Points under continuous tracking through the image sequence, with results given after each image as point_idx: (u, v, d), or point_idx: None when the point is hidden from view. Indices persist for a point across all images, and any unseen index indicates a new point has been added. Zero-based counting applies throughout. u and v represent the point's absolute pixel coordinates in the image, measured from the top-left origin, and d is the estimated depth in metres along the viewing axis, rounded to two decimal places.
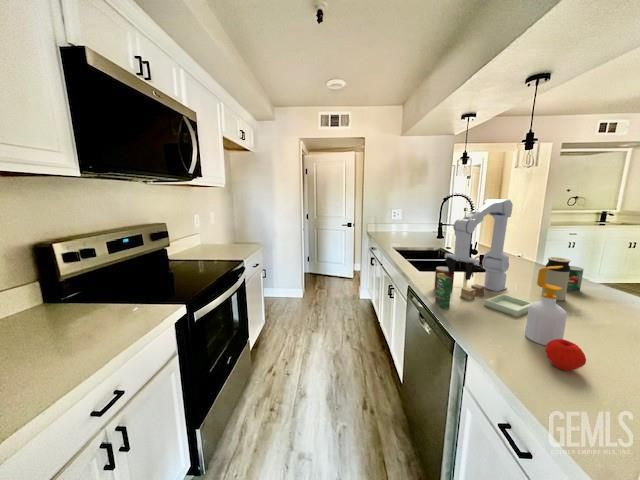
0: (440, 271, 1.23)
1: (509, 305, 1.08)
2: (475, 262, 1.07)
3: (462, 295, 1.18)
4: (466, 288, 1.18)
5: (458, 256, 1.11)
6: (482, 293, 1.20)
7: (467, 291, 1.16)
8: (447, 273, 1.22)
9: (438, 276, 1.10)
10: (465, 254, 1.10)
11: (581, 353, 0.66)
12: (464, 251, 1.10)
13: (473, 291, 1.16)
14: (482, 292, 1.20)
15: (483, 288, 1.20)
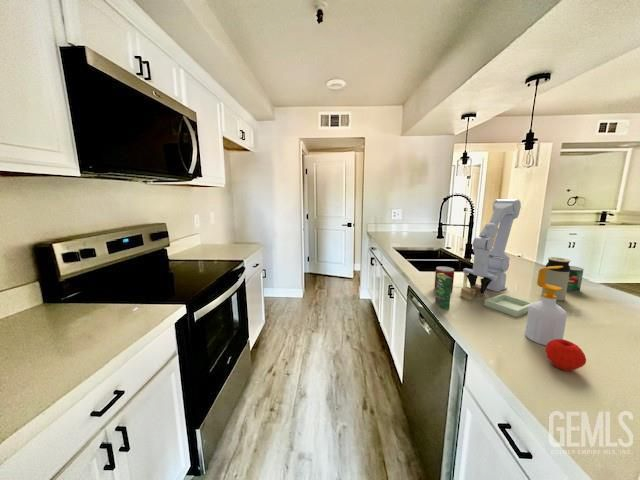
0: (440, 271, 1.23)
1: (509, 305, 1.08)
2: (494, 278, 1.14)
3: (462, 295, 1.18)
4: (466, 288, 1.18)
5: (477, 272, 1.18)
6: (482, 293, 1.20)
7: (467, 291, 1.16)
8: (447, 273, 1.22)
9: (438, 276, 1.10)
10: (484, 270, 1.17)
11: (581, 353, 0.66)
12: (483, 267, 1.17)
13: (473, 291, 1.16)
14: None
15: None
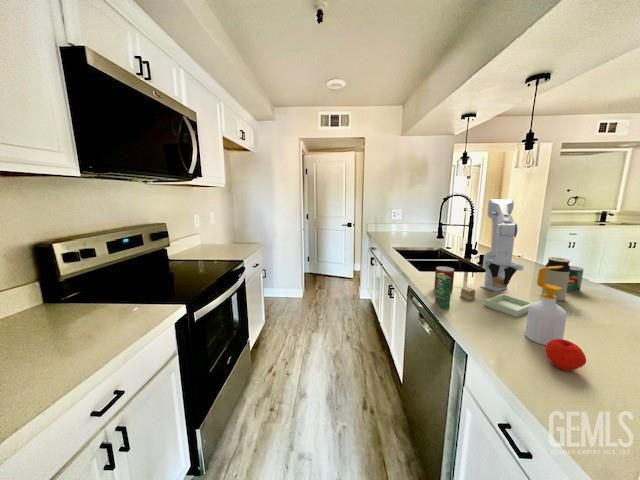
0: (440, 271, 1.23)
1: (509, 305, 1.08)
2: (519, 267, 1.04)
3: (462, 295, 1.18)
4: (466, 288, 1.18)
5: (500, 261, 1.09)
6: (505, 285, 1.11)
7: (467, 291, 1.16)
8: (447, 273, 1.22)
9: (438, 276, 1.10)
10: (508, 259, 1.08)
11: (581, 353, 0.66)
12: (507, 256, 1.07)
13: (473, 291, 1.16)
14: (504, 284, 1.10)
15: None
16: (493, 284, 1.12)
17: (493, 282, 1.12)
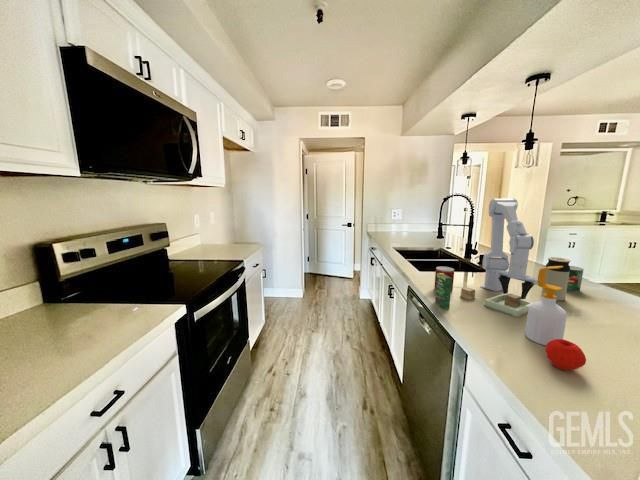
0: (440, 271, 1.23)
1: None
2: (535, 281, 1.00)
3: (462, 295, 1.18)
4: (466, 288, 1.18)
5: (514, 274, 1.05)
6: (518, 304, 1.07)
7: (467, 291, 1.16)
8: (447, 273, 1.22)
9: (438, 276, 1.10)
10: (523, 273, 1.03)
11: (581, 353, 0.66)
12: (521, 269, 1.03)
13: (473, 291, 1.16)
14: (518, 302, 1.06)
15: (519, 298, 1.06)
16: (506, 302, 1.09)
17: (506, 300, 1.08)
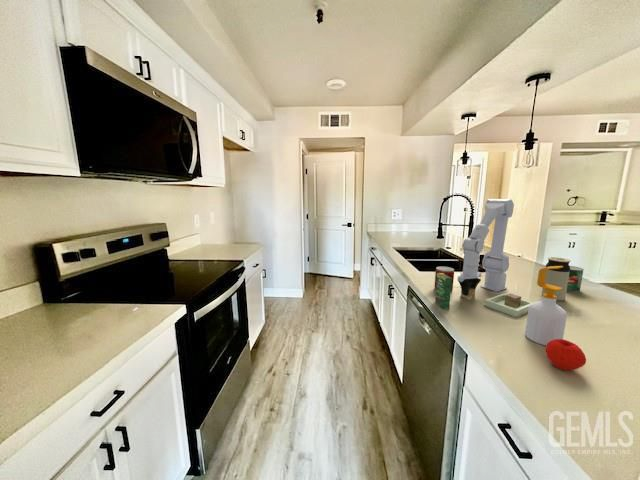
0: (440, 271, 1.23)
1: None
2: None
3: (462, 295, 1.18)
4: None
5: None
6: (518, 304, 1.07)
7: None
8: (447, 273, 1.22)
9: (438, 276, 1.10)
10: (464, 271, 1.16)
11: (581, 353, 0.66)
12: (463, 267, 1.16)
13: (473, 291, 1.16)
14: (518, 302, 1.06)
15: (519, 298, 1.06)
16: (506, 302, 1.09)
17: (506, 300, 1.08)
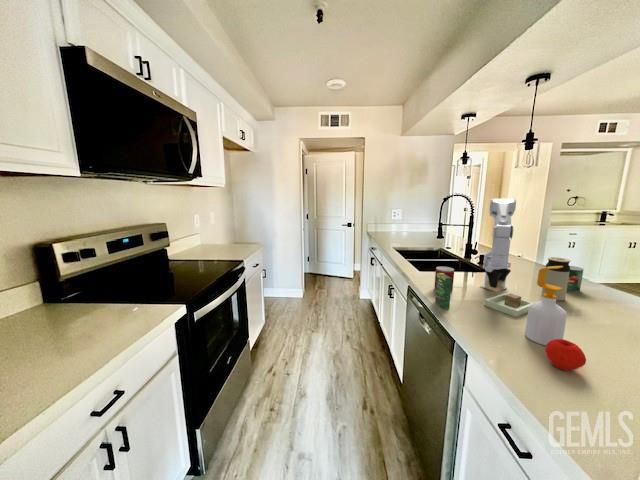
0: (440, 271, 1.23)
1: None
2: None
3: (489, 287, 1.08)
4: None
5: None
6: (518, 304, 1.07)
7: None
8: (447, 273, 1.22)
9: (438, 276, 1.10)
10: (492, 261, 1.06)
11: (581, 353, 0.66)
12: (491, 257, 1.06)
13: (501, 283, 1.06)
14: (518, 302, 1.06)
15: (519, 298, 1.06)
16: (506, 302, 1.09)
17: (506, 300, 1.08)
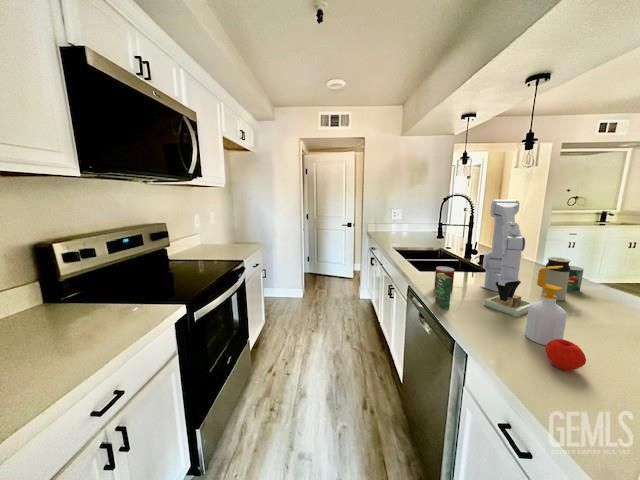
0: (440, 271, 1.23)
1: None
2: None
3: None
4: None
5: (500, 274, 1.05)
6: (518, 304, 1.07)
7: (505, 301, 1.04)
8: (447, 273, 1.22)
9: (438, 276, 1.10)
10: (503, 273, 1.03)
11: (581, 353, 0.66)
12: (502, 269, 1.03)
13: (511, 300, 1.04)
14: (518, 302, 1.06)
15: (519, 298, 1.06)
16: None
17: None
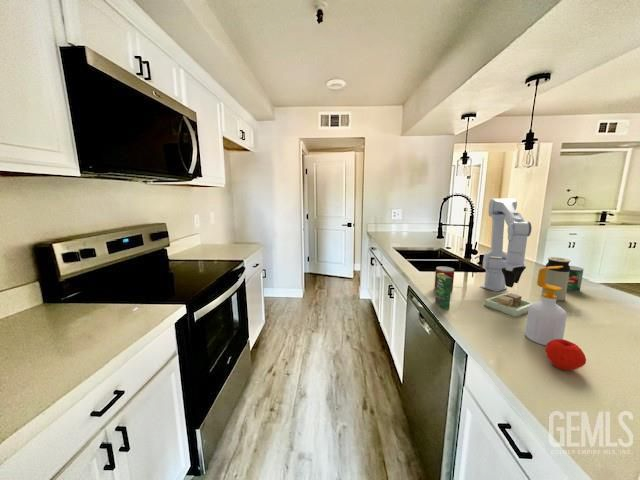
0: (440, 271, 1.23)
1: None
2: (506, 267, 1.01)
3: None
4: (502, 297, 1.06)
5: (506, 260, 1.06)
6: (518, 303, 1.07)
7: (505, 301, 1.04)
8: (447, 273, 1.22)
9: (438, 276, 1.10)
10: (509, 259, 1.03)
11: (581, 353, 0.66)
12: (508, 255, 1.03)
13: (511, 300, 1.04)
14: (518, 302, 1.07)
15: (519, 298, 1.07)
16: None
17: None
